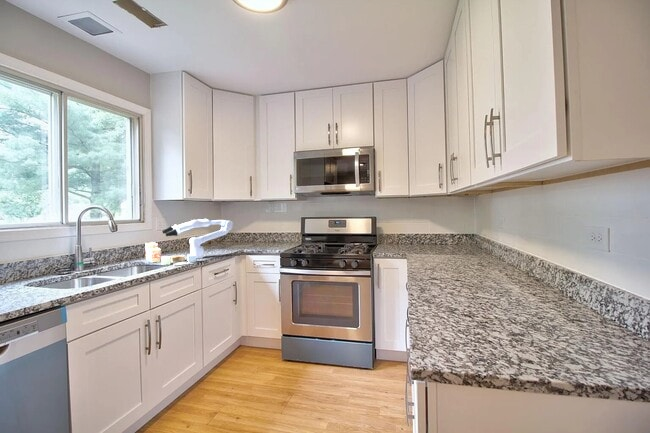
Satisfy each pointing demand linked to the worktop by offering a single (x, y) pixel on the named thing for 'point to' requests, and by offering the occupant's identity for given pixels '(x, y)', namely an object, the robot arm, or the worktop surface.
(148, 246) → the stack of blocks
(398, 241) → the worktop surface
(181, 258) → the walnut base block
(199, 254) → the robot arm
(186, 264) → the plaque
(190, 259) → the dusty blue block
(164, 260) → the sage block
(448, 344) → the worktop surface
